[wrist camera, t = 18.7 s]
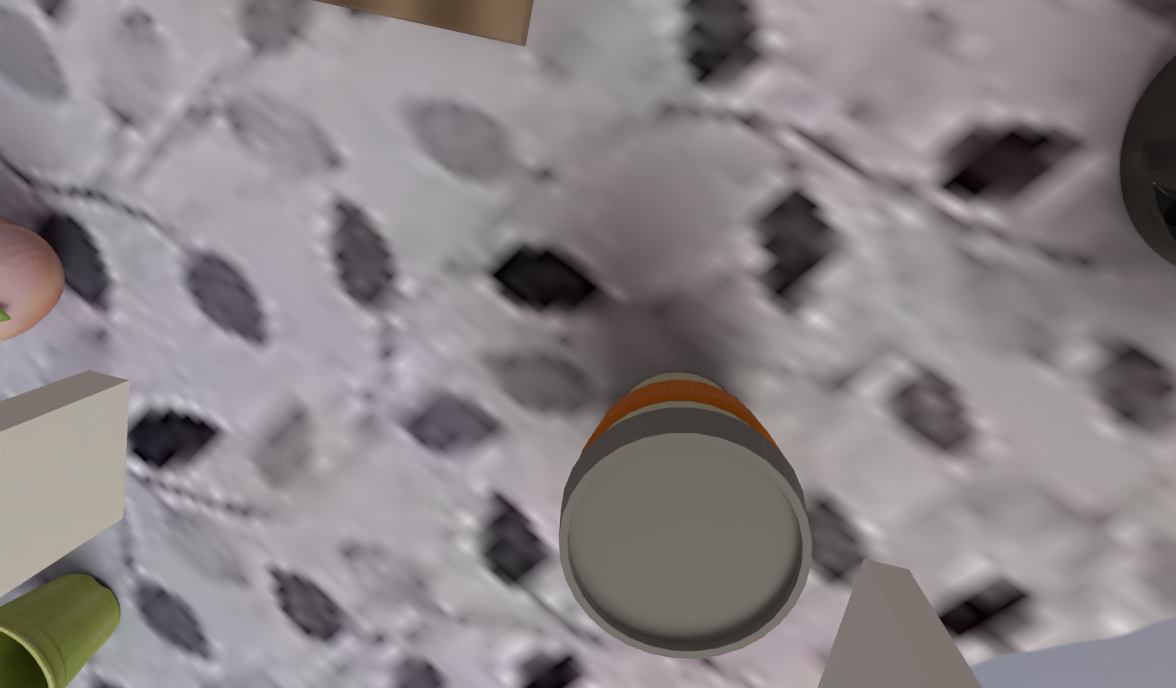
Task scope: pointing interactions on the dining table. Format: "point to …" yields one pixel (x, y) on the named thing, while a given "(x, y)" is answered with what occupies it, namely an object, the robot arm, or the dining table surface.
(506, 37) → the standoff base
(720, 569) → the reusable coffee cup
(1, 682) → the plant pot
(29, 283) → the decorative fruit
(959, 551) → the dining table surface
